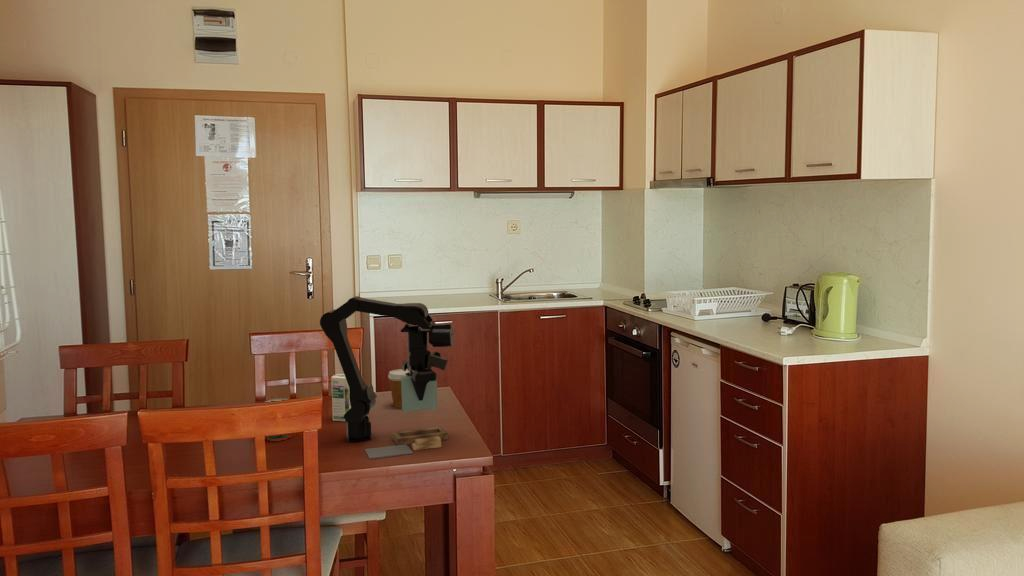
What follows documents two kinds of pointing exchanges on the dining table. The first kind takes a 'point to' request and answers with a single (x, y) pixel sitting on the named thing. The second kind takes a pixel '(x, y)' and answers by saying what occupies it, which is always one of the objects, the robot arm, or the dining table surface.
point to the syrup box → (340, 397)
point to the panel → (411, 399)
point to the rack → (418, 435)
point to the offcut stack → (427, 443)
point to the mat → (388, 451)
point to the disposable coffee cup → (396, 386)
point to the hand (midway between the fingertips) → (419, 398)
